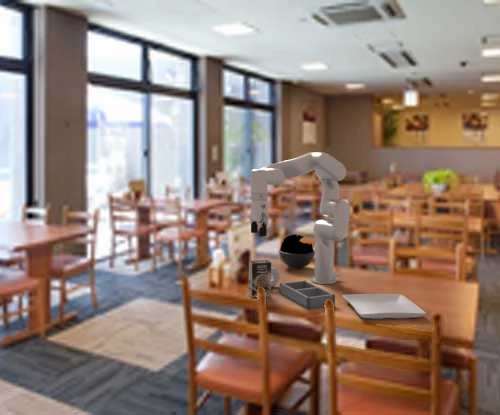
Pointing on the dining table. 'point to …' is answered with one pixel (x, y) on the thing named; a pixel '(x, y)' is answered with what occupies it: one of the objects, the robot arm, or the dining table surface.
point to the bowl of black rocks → (296, 252)
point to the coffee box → (259, 277)
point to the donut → (274, 276)
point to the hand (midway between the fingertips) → (258, 234)
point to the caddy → (306, 294)
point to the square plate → (384, 306)
